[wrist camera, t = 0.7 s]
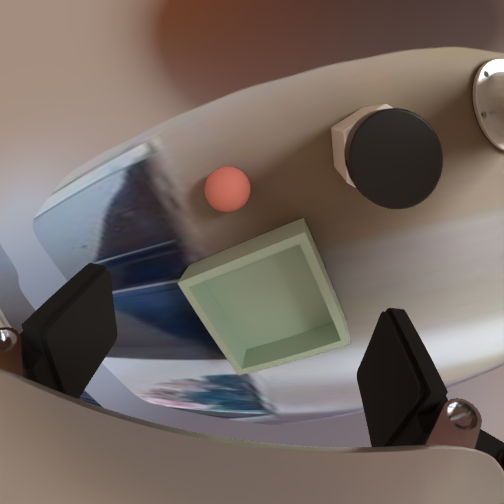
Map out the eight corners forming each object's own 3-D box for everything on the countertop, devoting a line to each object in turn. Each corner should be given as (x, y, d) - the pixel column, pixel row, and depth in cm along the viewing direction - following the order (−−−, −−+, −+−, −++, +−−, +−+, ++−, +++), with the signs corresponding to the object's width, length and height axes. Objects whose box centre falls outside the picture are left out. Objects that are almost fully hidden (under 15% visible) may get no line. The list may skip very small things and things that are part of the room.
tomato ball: (241, 156, 35) (233, 162, 30) (260, 194, 36) (255, 206, 32) (203, 174, 36) (190, 183, 32) (222, 211, 38) (212, 225, 33)
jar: (315, 160, 34) (325, 179, 23) (345, 96, 30) (370, 86, 20) (382, 195, 34) (418, 229, 23) (412, 135, 31) (462, 145, 20)
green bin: (303, 217, 37) (304, 232, 32) (346, 320, 42) (350, 343, 37) (189, 264, 41) (177, 283, 37) (243, 352, 46) (238, 375, 42)
